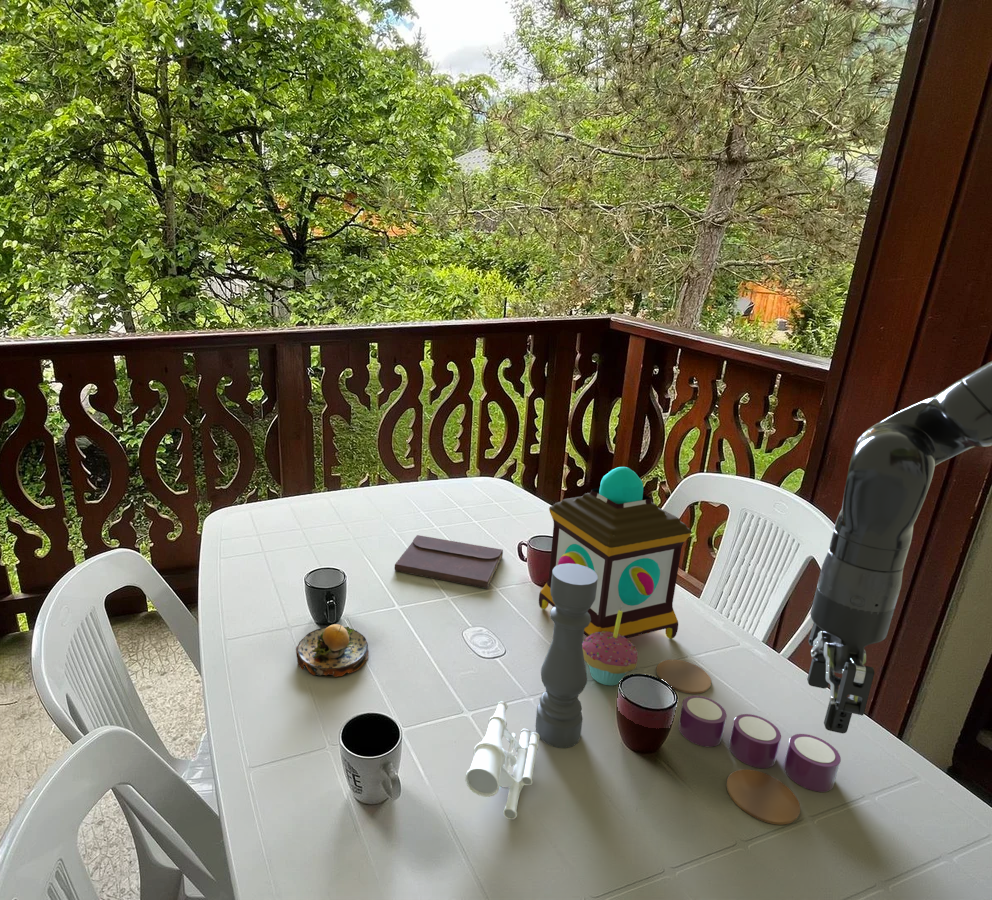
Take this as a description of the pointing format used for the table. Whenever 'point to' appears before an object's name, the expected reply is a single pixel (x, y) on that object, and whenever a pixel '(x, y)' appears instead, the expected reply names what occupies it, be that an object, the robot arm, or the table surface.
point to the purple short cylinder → (811, 762)
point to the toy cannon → (502, 762)
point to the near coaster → (763, 796)
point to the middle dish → (754, 741)
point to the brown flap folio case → (450, 561)
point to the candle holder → (566, 656)
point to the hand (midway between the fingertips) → (825, 706)
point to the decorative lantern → (621, 554)
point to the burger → (332, 651)
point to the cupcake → (609, 655)
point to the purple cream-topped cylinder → (702, 721)
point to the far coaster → (684, 676)
